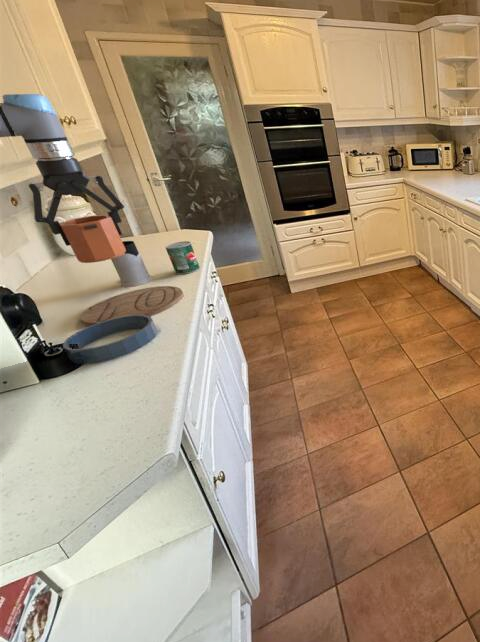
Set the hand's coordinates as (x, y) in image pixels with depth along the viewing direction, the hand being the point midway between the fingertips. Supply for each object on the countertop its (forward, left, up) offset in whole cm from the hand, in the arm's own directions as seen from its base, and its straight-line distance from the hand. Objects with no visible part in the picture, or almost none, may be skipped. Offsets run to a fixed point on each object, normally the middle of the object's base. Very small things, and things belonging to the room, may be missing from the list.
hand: (94, 239), depth 112 cm
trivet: (-3, +8, -26) cm, 27 cm away
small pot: (0, 0, -5) cm, 5 cm away
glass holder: (-17, +35, -26) cm, 47 cm away
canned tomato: (-3, +39, -26) cm, 47 cm away
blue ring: (+7, -18, -26) cm, 33 cm away
